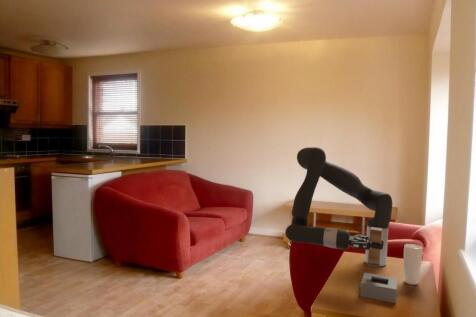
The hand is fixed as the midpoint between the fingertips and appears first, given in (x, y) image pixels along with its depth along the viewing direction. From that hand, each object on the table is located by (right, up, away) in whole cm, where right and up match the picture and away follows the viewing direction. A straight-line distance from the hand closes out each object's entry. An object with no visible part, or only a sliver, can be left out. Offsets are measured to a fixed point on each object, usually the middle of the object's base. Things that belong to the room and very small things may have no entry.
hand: (382, 244), depth 144 cm
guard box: (-2, -18, -1) cm, 18 cm away
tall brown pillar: (-3, -8, +2) cm, 9 cm away
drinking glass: (+16, -18, +11) cm, 26 cm away
